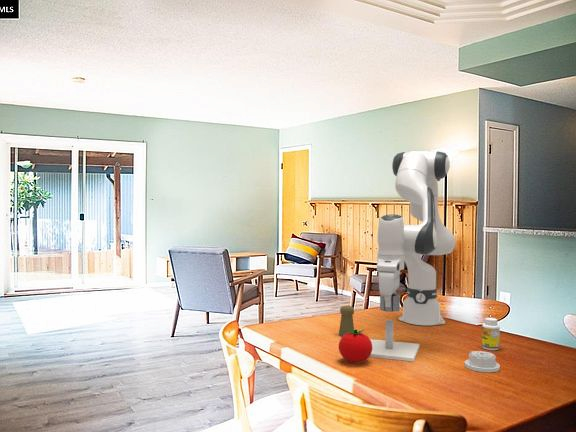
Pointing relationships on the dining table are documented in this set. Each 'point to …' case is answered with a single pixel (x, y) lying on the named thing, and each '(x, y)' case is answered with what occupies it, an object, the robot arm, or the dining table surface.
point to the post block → (393, 347)
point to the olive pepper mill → (346, 320)
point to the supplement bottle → (490, 334)
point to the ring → (394, 303)
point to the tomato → (355, 346)
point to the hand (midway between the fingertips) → (389, 305)
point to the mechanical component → (482, 362)
